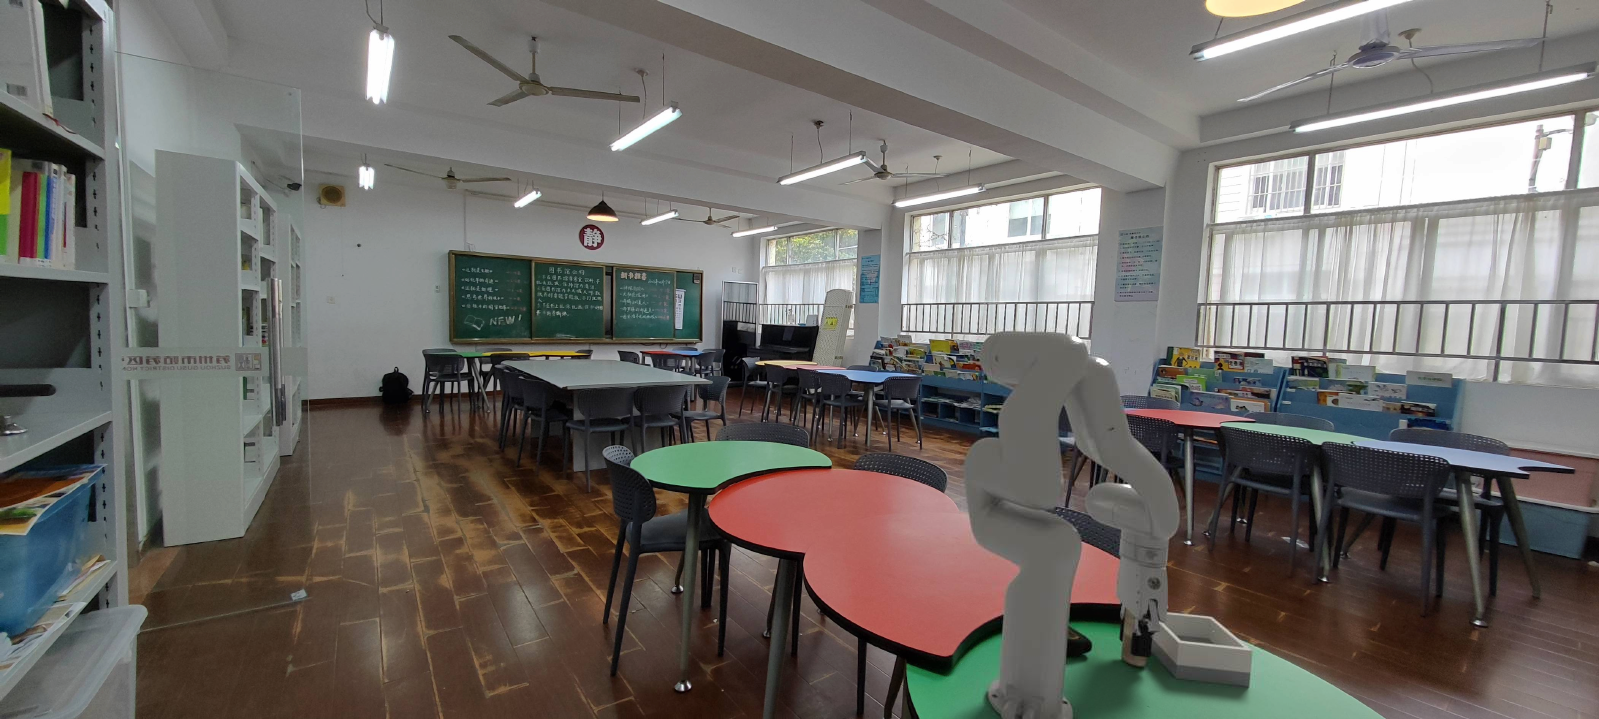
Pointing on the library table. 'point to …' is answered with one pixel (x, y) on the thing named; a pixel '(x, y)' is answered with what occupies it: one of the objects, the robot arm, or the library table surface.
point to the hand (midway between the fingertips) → (1134, 647)
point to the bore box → (1202, 650)
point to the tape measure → (1077, 643)
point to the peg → (1127, 639)
